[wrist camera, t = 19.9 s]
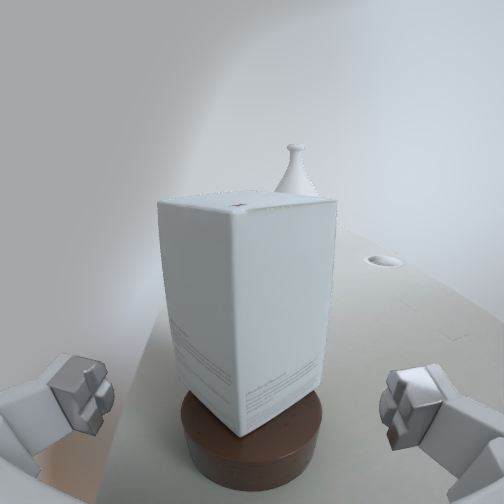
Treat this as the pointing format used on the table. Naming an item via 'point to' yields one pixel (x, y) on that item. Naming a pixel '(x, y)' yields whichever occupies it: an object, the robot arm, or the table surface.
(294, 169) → the vase
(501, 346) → the table surface
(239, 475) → the walnut riser
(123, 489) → the table surface
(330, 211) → the white packaging box
